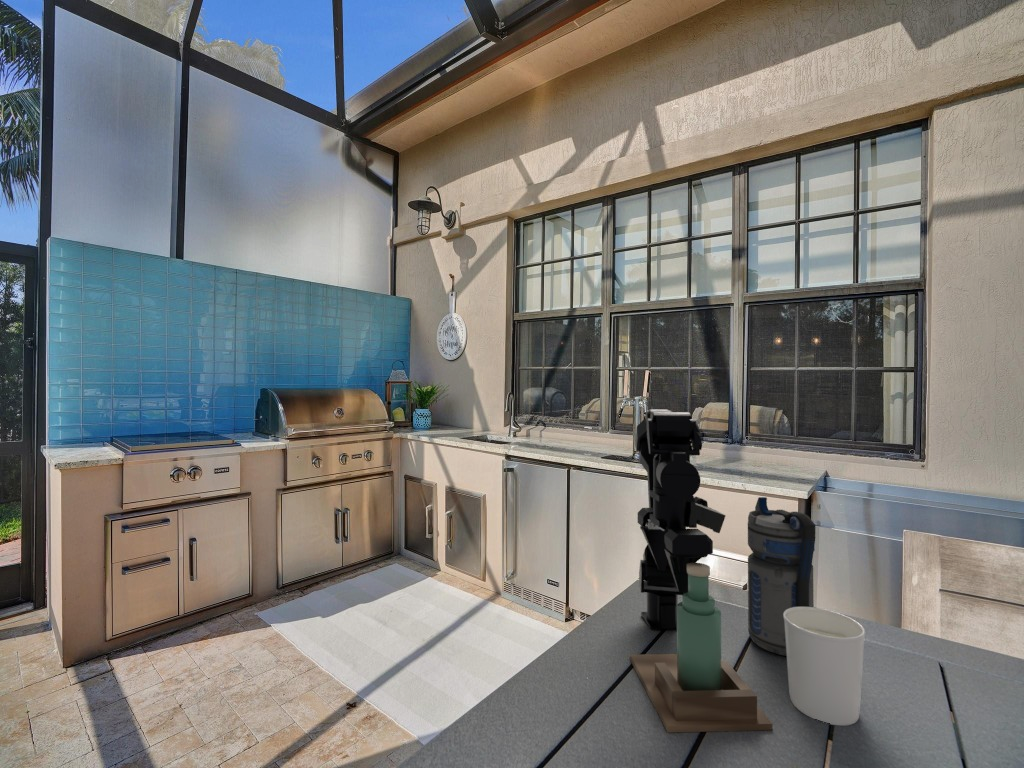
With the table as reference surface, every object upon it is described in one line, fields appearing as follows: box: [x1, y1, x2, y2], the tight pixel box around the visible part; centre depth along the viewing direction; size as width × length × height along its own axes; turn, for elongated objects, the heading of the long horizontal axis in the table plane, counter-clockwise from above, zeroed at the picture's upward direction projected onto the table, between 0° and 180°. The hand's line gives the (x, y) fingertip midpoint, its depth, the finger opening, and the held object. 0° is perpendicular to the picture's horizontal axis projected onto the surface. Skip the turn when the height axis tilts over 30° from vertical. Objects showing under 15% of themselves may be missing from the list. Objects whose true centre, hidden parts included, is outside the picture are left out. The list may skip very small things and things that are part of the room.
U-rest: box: [629, 653, 773, 733], centre depth 73 cm, size 18×14×4 cm
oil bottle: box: [676, 562, 722, 691], centre depth 71 cm, size 6×6×18 cm
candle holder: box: [783, 607, 866, 727], centre depth 69 cm, size 10×10×12 cm
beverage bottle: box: [747, 496, 816, 657], centre depth 86 cm, size 10×13×25 cm
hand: (671, 580), depth 82 cm, fingers open, 9 cm apart
